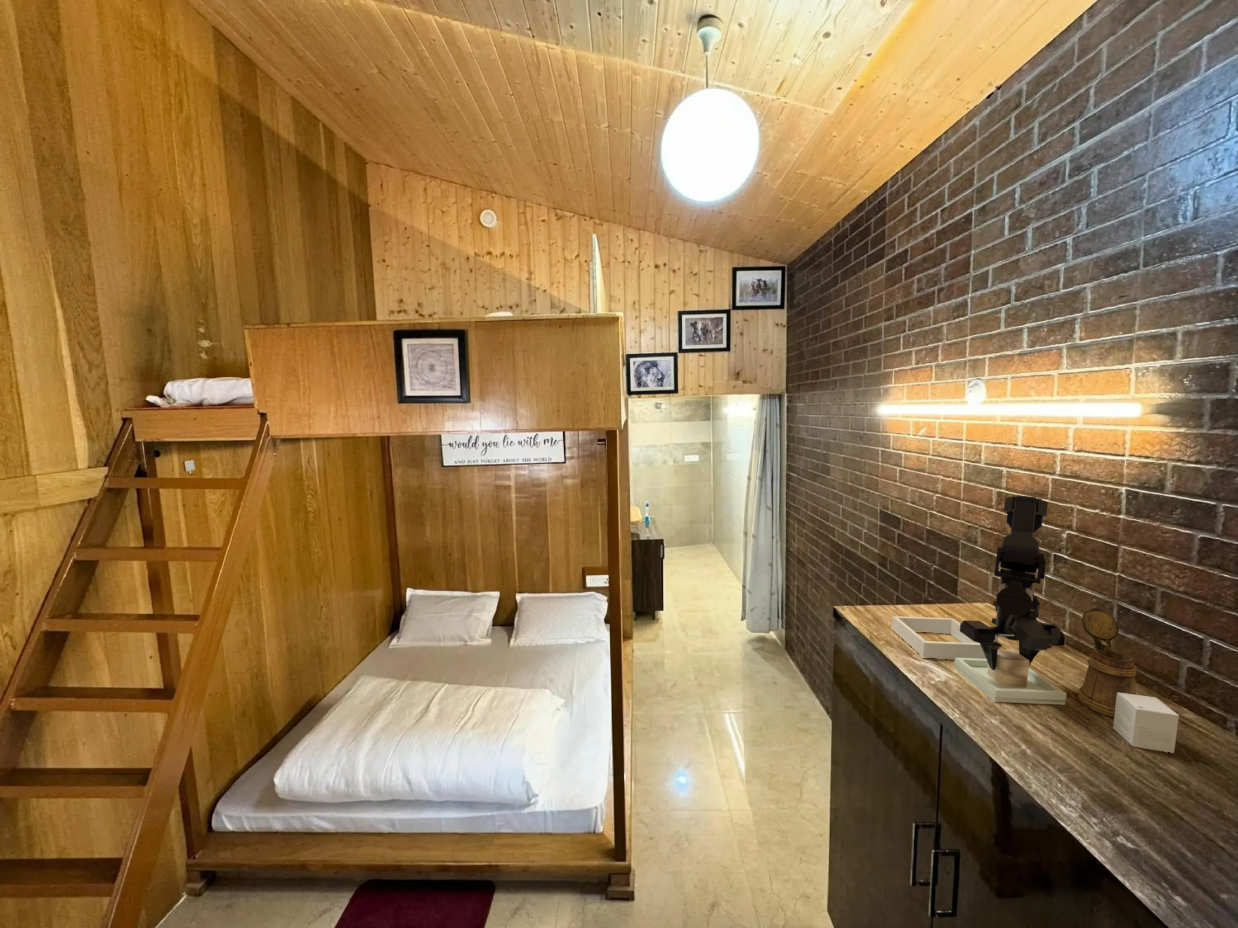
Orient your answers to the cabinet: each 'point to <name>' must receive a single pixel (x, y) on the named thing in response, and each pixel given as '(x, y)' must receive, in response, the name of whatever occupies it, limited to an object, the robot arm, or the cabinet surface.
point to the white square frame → (933, 648)
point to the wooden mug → (1105, 665)
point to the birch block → (1010, 669)
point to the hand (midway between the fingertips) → (1007, 669)
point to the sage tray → (1033, 693)
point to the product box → (1145, 722)
